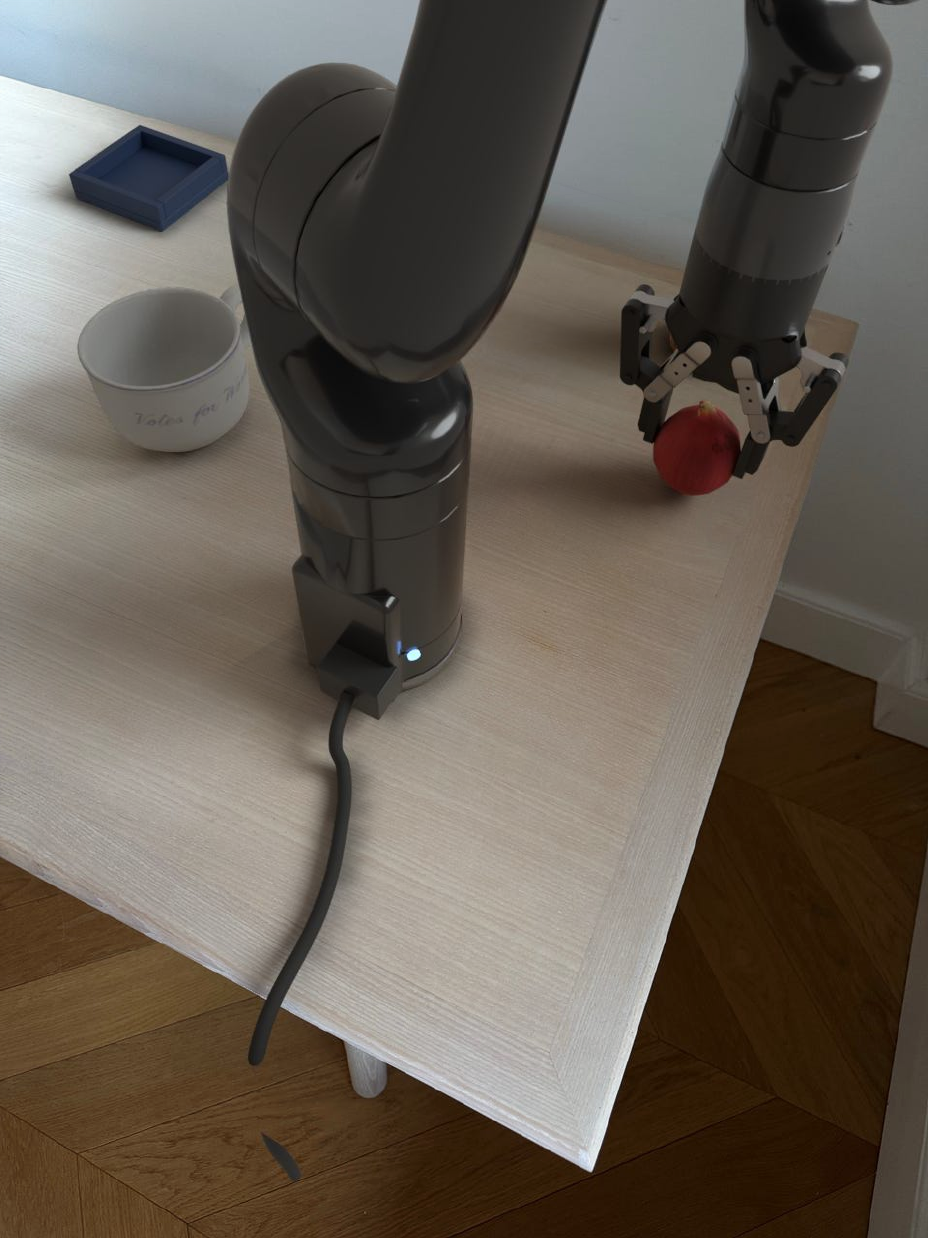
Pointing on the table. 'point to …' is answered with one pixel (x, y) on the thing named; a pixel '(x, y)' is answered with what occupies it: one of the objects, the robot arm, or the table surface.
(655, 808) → the table surface
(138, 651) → the table surface
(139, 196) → the navy square tray
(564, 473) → the table surface
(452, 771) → the table surface
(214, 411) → the teacup
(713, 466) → the onion
